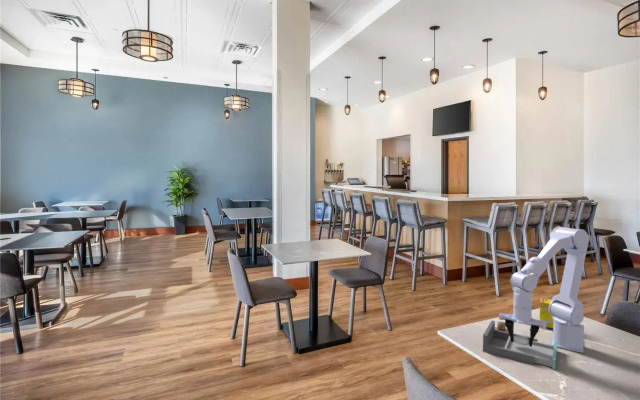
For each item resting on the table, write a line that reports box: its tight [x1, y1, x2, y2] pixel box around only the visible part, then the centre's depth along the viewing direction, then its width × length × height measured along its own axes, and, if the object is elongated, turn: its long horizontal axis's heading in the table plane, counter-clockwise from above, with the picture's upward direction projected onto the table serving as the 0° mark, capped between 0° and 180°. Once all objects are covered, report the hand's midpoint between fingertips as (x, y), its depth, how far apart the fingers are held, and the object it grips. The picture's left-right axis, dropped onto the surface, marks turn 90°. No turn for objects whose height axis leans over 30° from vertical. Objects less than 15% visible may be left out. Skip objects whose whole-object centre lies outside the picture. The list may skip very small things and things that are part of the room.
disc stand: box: [495, 321, 509, 333], centre depth 139 cm, size 6×6×4 cm
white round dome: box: [513, 332, 530, 345], centre depth 123 cm, size 5×5×2 cm
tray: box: [504, 336, 558, 371], centre depth 121 cm, size 15×16×3 cm
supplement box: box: [539, 298, 554, 331], centre depth 144 cm, size 6×6×11 cm
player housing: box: [482, 320, 539, 365], centre depth 125 cm, size 16×16×6 cm
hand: (521, 343), depth 123 cm, fingers closed on white round dome, 5 cm apart
